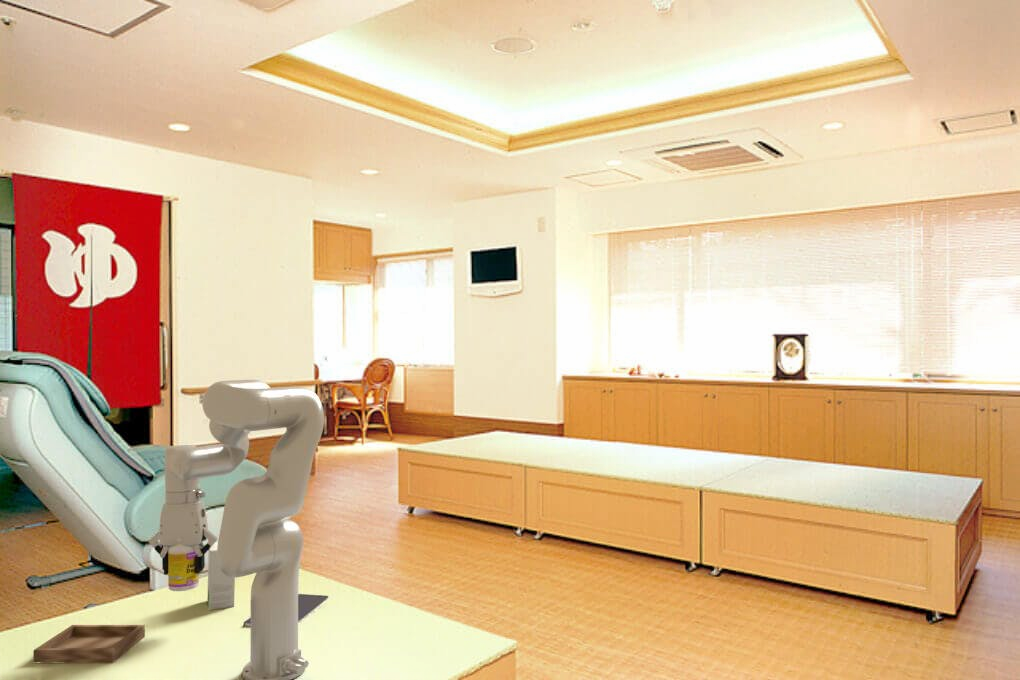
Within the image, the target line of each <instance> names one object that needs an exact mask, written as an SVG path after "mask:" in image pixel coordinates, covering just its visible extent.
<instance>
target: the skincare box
mask: <svg viewBox="0 0 1020 680" xmlns="http://www.w3.org/2000/svg"><path fill="white" fill-rule="evenodd" d="M217 547H218V541H216V542H215V543H214V544H213V545H212V547H211V548H210V549H209V550H208V559H207V561H208V562H207V563H208V564H207V565H208V568H207V606H208V611H212V610H213V611H214V610H218V609H226V608H234V607H235V585H236V584H235V583H236V582H235V581H236V577H229V576H227V575H225V574H224V573H223V572H222V571H221V569H220V567H219V565H218V560H217Z"/></svg>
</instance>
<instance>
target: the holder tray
mask: <svg viewBox="0 0 1020 680" xmlns="http://www.w3.org/2000/svg"><path fill="white" fill-rule="evenodd" d="M145 633H146V625H145V624H72V625H70V626H68V627H67V628H65V629H64V630H62V631H61V632H60V633H58V634H56V635H55V636H53V637H51V638H50V639H49V640H47V641H45V642H44V643H42V644H40V645H39V646H38V647H35V648H34V649H33V653H32V654H33V660H32V661H33V662H64V663H63V664H113V663H114V662H116V661H117V660H118V659H120V658H121V657H122V656H123V655H124V654H125V653H127V652H128V651H129V650H130V649H131V648H133V647H135V645H136V644H138V643H139V642H141V641H142V640H143V639H145V637H146V636H145V635H146V634H145ZM65 662H66V663H65Z"/></svg>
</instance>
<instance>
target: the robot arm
mask: <svg viewBox="0 0 1020 680" xmlns="http://www.w3.org/2000/svg"><path fill="white" fill-rule="evenodd" d="M201 405H202V409H203V410H202V411H203V412H204V415H205V416H206V417H207V418H208V419H209V424H208V425H209V426H208V428H209V432H210V434H211V435H212V437H213V438H214V439H215V440H216V441H218V442H219V443H218V444H217V443H216V444H207V445H206V444H205V445H199V446H196V445H193V444H179V445H172V446H169V447H167V449H165V452H164V488H165V489H164V491H165V493H164V496H165V498H164V499H165V502H164V504H162V507H161V512H160V517H159V526H158V527H159V529H158V530H159V531H157V533H156V534H154V536H153V535H152V537H151V538H150V539H149V540H148V544H149V545H151V546H152V548H154V550H155V551H156V553H158V554H159V557H160V558H161V560H162V561H161V563H162V571H163V574H164V575H165V576H166V575H168V549H169V547H170V546H176V545H179V544H181V545H185V546H193V548H194V550H195V552H196V554H197V556H196V557H195V573H196V574H200V573H202V572H204V571H203V570H204V569H205V567H206V563H205V562H206V561H205V558H206V557H205V555H206V554H207V552H209V549H210V548H211V547H212V545H213V544H214V543H215V542H218V547H217V560H218V565H219V567H220V569H221V571H222V572H223V573H224V574H225V575H227V576H229V577H235V578H241V577H246V576H250V575H252V574H254V578H253V581H252V584H251V589H250V618H251V627H250V661H248V663H246V664H245V665H244V666H243V669H242V678H243V679H244V680H293V679H296V678H297V677H299V676H301V675H303V674H304V672H305V669H307V667H308V666H309V660H306V659H305V658H303V657H302V649H300V648H299V624H298V594H299V577H300V575H299V573H300V564H301V558H302V554H303V548H304V534H303V531H302V528H301V527H300V525H299V524H298V523H297V522H295V521H293V520H292V519H290V518H293V517H295V516H297V515H298V514H299V513H300V512H301V511H302V509H303V508H304V504H305V501H306V500H305V499H306V495H307V491H308V486H309V482H310V477H311V471H312V466H313V462H314V457H315V454H316V451H317V447H318V445H319V443H320V440H321V438H322V435H323V432H324V431H323V430H324V425H325V413H324V406H323V404H322V401H321V399H320V397H319V395H317V393H316V392H315V391H313V390H312V389H310V388H307V387H302V386H296V385H295V386H275V387H270V386H269V384H267V383H265V382H264V381H261V380H259V379H257V380H256V379H235V380H234V379H233V380H219V381H217V382H214V383H213V384H211V385H209V387H208V388H207V389H206V390H205V392H204V394H203V397H202V403H201ZM283 428H285V429H286V430H285V432H284V433H283V434H282V435H281V437H280V438H279V439H278V440H277V441H276V443H275V445H274V446H273V449H272V450H271V453H270V457H269V461H268V465H267V466H268V467H267V470H266V472H265V473H264V474H262V475H260V476H255V477H254V476H253V477H248V478H245V479H241V480H239V481H238V482H236V483H235V484H234V485H233V486H232V487H231V489H230V490H229V491H228V493H227V496H226V499H225V502H224V508H223V512H222V513H223V514H222V518H221V524H220V530H219V534H218V537H217V536H216V535H215V534H213V532H212V531H210V530H209V529H208V528H209V527H208V517H207V511H206V507H205V506H206V505H205V503H204V501H203V500H202V498H205V497H206V492H205V491H201V486H200V483H201V482H200V480H202V479H206V478H212V477H220V476H225V475H229V474H231V473H232V472H233V471H235V470H236V469H237V468H238V467H239V466H240V465H241V464H242V462H244V461H245V459H246V458H247V456H248V452H249V449H250V438H249V434H250V433H251V432H257V431H258V432H259V431H265V430H266V431H267V430H275V429H277V430H278V429H283ZM177 539H181V541H177ZM205 541H207V542H206V543H205V544H204V542H205Z"/></svg>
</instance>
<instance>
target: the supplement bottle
mask: <svg viewBox="0 0 1020 680" xmlns="http://www.w3.org/2000/svg"><path fill="white" fill-rule="evenodd" d="M177 541H181V539H177ZM196 556H197V554H196V552H195V550H194V548H193V546H185V545H181V544H179V545H176V546H170V547H169V549H168V574H167V575H168V577H167V578H168V582H167V583H168V589H169V591H173V592H185V591H190V590H192V589H195V588H197V587H198V586H199V581H200V577H199V576H200V575H199V574H200V573H199V574H196V573H195V557H196Z"/></svg>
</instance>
